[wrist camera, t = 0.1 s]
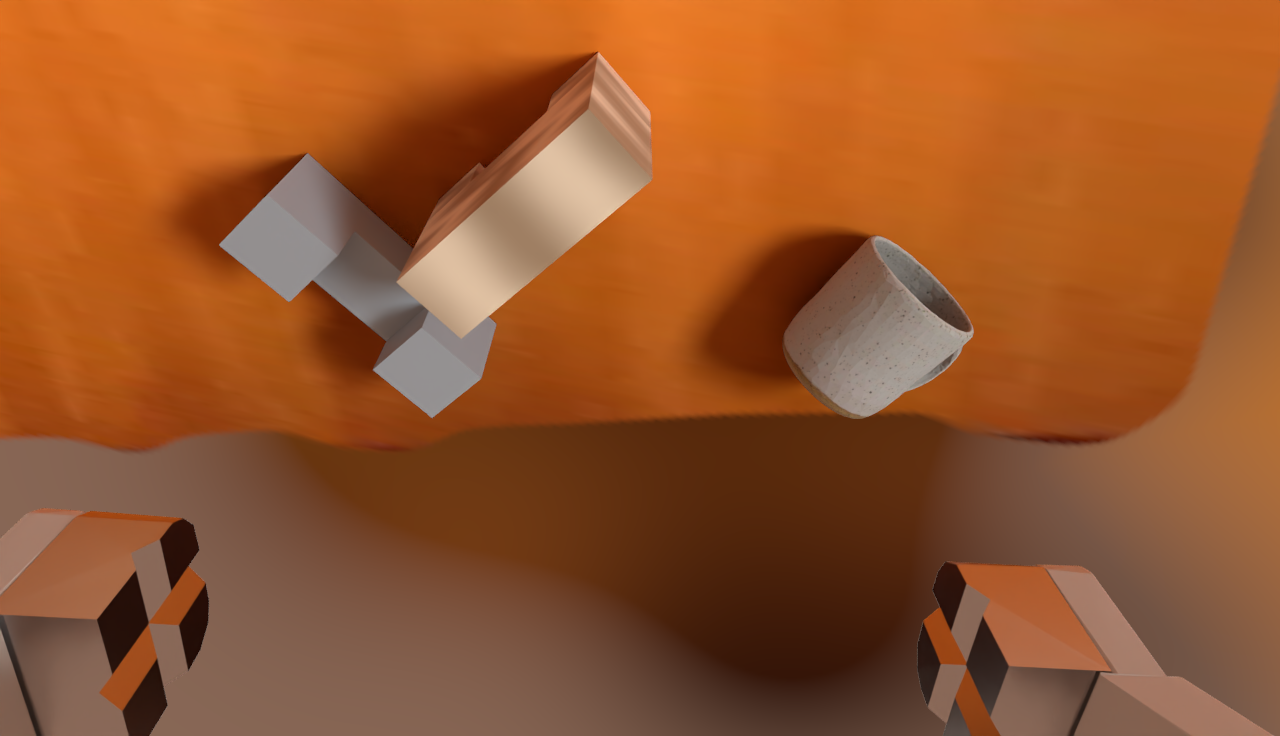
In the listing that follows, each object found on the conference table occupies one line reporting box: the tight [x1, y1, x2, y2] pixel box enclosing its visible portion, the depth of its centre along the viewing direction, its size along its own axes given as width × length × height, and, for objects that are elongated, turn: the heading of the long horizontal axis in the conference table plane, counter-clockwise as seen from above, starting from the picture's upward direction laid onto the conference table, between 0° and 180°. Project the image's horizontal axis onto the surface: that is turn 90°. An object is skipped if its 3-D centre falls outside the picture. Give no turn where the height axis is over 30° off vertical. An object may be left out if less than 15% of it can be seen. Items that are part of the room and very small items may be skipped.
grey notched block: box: [219, 153, 496, 418], centre depth 48 cm, size 14×4×6 cm, turn 41°
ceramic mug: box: [782, 236, 974, 419], centre depth 49 cm, size 11×8×8 cm
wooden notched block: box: [397, 52, 652, 339], centre depth 43 cm, size 12×4×10 cm, turn 131°
